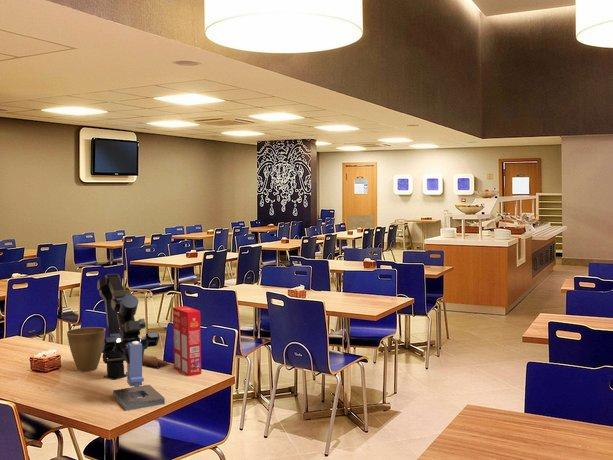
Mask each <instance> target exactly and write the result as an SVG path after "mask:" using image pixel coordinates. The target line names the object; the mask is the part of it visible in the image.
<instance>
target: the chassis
mask: <svg viewBox="0 0 613 460" xmlns="http://www.w3.org/2000/svg"><path fill="white" fill-rule="evenodd" d="M112 397H113V398H114V399H115V400H116V401H117V402H118V403H119V404H120V406H121V407H122V408H123V409H124V410H125V411H132V410H139V409H143V408H149V407H154V406H161V405H165V403H166V401H165V399H166V398H165V397H164V396H163V395H162V394H161V393H159V391H157V390H156V389H155V388H154V387H153V386H152V385H150V384H146V385H139V387H134V386H130V387H127V388H121V389H115V390H114V389H113V390H112Z"/></svg>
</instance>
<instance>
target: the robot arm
mask: <svg viewBox="0 0 613 460" xmlns="http://www.w3.org/2000/svg"><path fill="white" fill-rule="evenodd" d="M96 283H97V285H96V286H97V287H96V288H97V290H98V291H99V297H100V298H101V299H102V300H103V301H104V308H105V316H106V317H105V318H106V326H107V327H106V329H107V336H105V338H104V340H103V345H102V348H103V350H102V362H103V363H104V364H106V374H105V375H104V376H103V378H106V379H111V380H117V379H120V378H124V377H127V376H126V373H125V365H124V362H126V364H127V363H128V364H129V363H130V360H129V356H128V353H127V342H133V341H139V342H140V343H141V344H142V362H143V356H144V355H145V350H147V349H148V348H152V347H153V348H154V347H156V346H158V344H159V340H160V334H159V332H157V331H149V332H146V334H145V336H141V330H142V329H145V328H146V325H147V324H146V319H145V318H139V319H138V320H136V319H135V315H136V313H137V309H138V307H139V306H138V305H139V299H138V298H137V297H136V296H135V295H134V294H133V295H132V293H131V292H129V291H127V290H125V287H124V285H123V284H122V278H121V277H120V274H119V273H108V274H106V275H105V276H103V277H101V278H99V279H98V280H97V282H96Z"/></svg>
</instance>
